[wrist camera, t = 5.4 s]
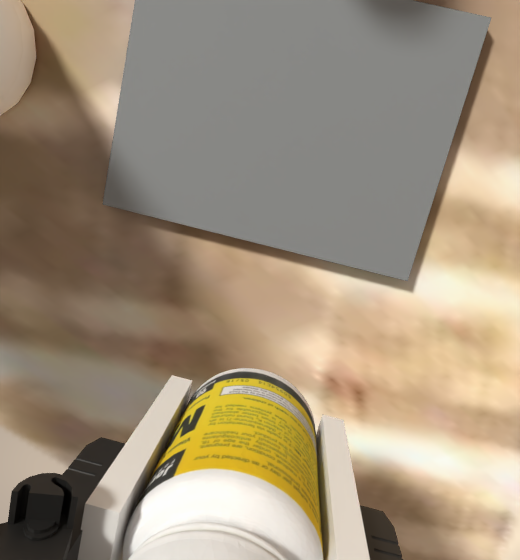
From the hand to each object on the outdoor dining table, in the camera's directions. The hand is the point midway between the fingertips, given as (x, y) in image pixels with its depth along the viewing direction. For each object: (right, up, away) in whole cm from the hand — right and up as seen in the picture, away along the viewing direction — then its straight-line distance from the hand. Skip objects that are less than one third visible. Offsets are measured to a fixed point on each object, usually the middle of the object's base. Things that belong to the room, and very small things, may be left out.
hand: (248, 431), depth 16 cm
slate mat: (+2, +14, +8) cm, 16 cm away
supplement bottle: (0, 0, +1) cm, 1 cm away
